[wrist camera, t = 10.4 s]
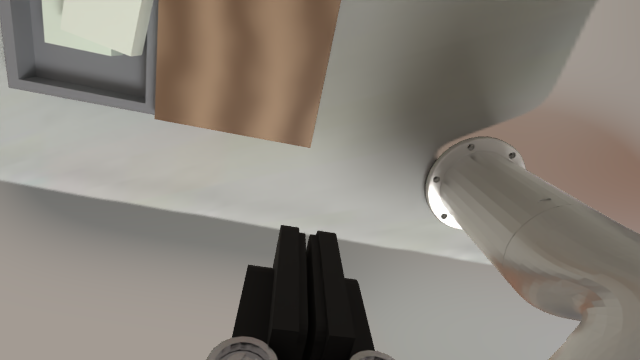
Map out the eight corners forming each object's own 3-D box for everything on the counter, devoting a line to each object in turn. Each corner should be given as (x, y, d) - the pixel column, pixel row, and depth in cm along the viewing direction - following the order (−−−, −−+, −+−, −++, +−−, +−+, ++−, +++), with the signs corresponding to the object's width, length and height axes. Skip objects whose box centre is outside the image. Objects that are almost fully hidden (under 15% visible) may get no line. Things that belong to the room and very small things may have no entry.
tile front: (155, -9, 32) (144, -13, 29) (142, 55, 34) (130, 56, 31) (86, -39, 31) (69, -45, 28) (77, 29, 33) (60, 29, 30)
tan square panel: (339, -13, 35) (345, -20, 31) (309, 136, 41) (310, 147, 37) (178, -54, 33) (160, -67, 29) (170, 110, 39) (154, 119, 35)
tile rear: (39, -29, 31) (57, -24, 33) (44, 42, 33) (61, 42, 35) (110, -13, 31) (123, -9, 34) (111, 56, 34) (123, 54, 36)
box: (172, -55, 33) (161, -64, 30) (165, 109, 39) (155, 114, 36) (12, -95, 31) (-16, -108, 28) (30, 83, 37) (8, 87, 34)
